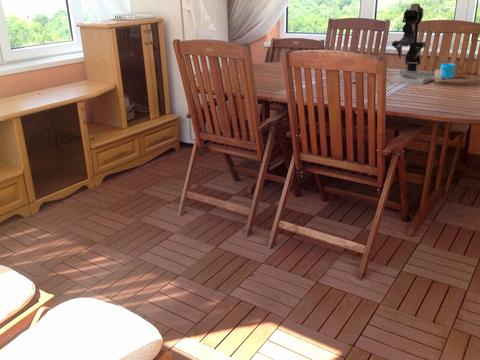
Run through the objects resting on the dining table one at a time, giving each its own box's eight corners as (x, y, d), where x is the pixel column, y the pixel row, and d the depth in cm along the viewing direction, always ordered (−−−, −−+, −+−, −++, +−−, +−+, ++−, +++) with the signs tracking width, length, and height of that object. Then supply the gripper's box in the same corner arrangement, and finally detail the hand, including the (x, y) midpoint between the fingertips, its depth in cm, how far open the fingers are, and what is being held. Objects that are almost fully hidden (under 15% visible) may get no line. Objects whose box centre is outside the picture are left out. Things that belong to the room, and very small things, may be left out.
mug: (445, 75, 317) (446, 62, 314) (456, 77, 311) (458, 64, 308) (433, 78, 311) (434, 65, 308) (444, 80, 305) (446, 66, 301)
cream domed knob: (435, 80, 303) (436, 69, 301) (441, 81, 301) (443, 69, 298) (433, 82, 300) (434, 70, 298) (439, 82, 298) (441, 70, 295)
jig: (400, 77, 319) (400, 70, 317) (431, 79, 307) (432, 72, 305) (390, 81, 307) (390, 74, 306) (422, 84, 296) (423, 76, 294)
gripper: (388, 33, 295) (387, 59, 301) (419, 34, 283) (417, 61, 289) (396, 30, 302) (394, 57, 308) (427, 31, 291) (424, 58, 297)
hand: (407, 58), depth 301 cm, fingers open, 9 cm apart
